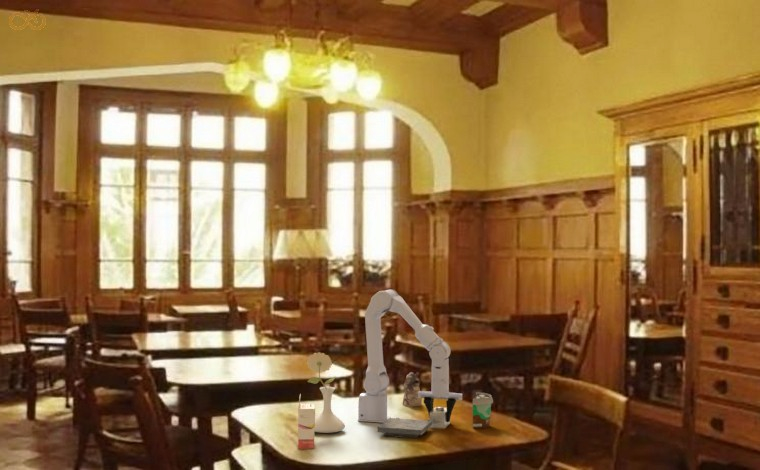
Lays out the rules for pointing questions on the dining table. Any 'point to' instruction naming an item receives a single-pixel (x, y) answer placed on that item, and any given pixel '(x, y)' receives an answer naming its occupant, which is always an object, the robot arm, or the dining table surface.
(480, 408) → the food container
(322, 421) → the flower in vase
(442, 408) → the block
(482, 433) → the dining table surface
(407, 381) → the figurine
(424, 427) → the stand
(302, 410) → the juice box
